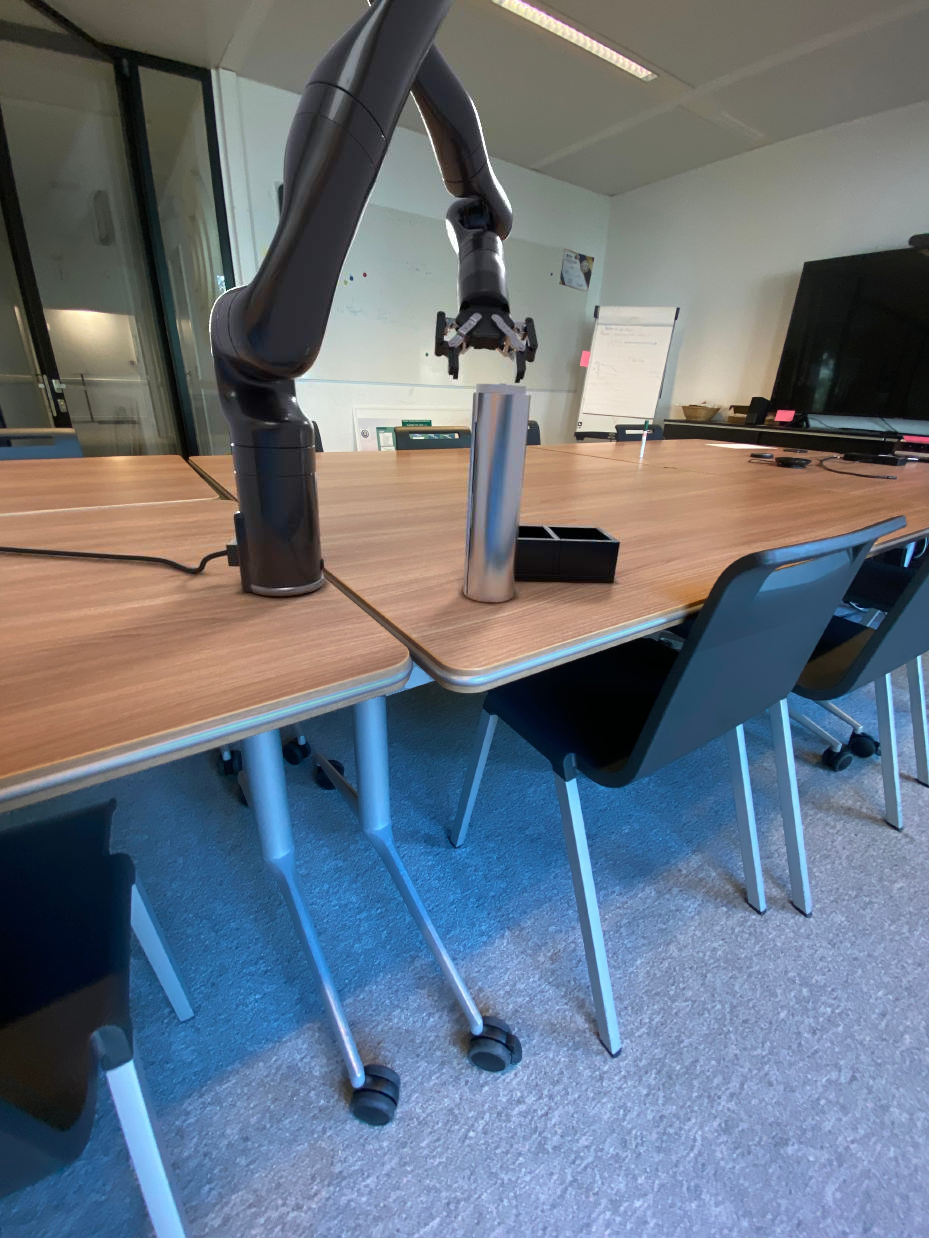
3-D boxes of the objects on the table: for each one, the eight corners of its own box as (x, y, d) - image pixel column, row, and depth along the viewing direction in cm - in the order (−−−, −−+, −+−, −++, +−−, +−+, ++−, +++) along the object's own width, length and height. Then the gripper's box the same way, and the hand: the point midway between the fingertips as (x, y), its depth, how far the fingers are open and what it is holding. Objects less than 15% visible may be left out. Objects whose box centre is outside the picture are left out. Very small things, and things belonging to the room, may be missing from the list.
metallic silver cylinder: (509, 605, 65) (529, 384, 56) (458, 599, 66) (468, 381, 57) (515, 588, 71) (534, 386, 62) (468, 583, 72) (479, 383, 63)
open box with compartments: (492, 580, 74) (495, 538, 72) (485, 561, 82) (487, 523, 80) (613, 583, 76) (620, 542, 73) (594, 564, 84) (599, 527, 82)
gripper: (435, 264, 74) (436, 350, 68) (535, 272, 75) (545, 356, 69) (433, 313, 81) (433, 395, 75) (525, 319, 82) (533, 400, 76)
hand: (487, 376), depth 72 cm, fingers open, 8 cm apart
